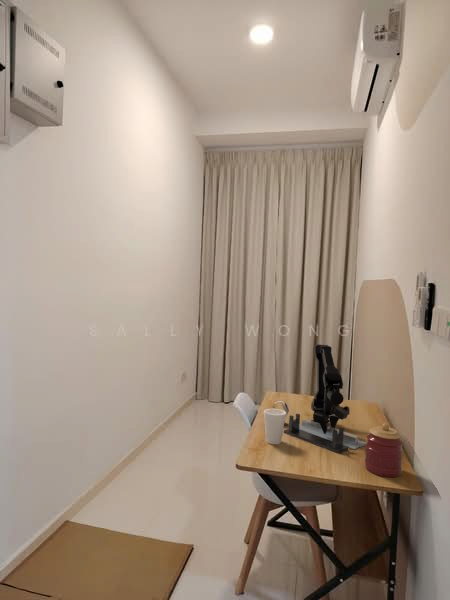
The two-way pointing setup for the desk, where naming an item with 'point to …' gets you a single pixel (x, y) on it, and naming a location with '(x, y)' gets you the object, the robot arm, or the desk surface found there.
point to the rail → (329, 431)
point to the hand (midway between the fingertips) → (328, 432)
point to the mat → (331, 438)
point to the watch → (283, 406)
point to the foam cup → (274, 425)
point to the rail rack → (333, 445)
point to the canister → (384, 451)
